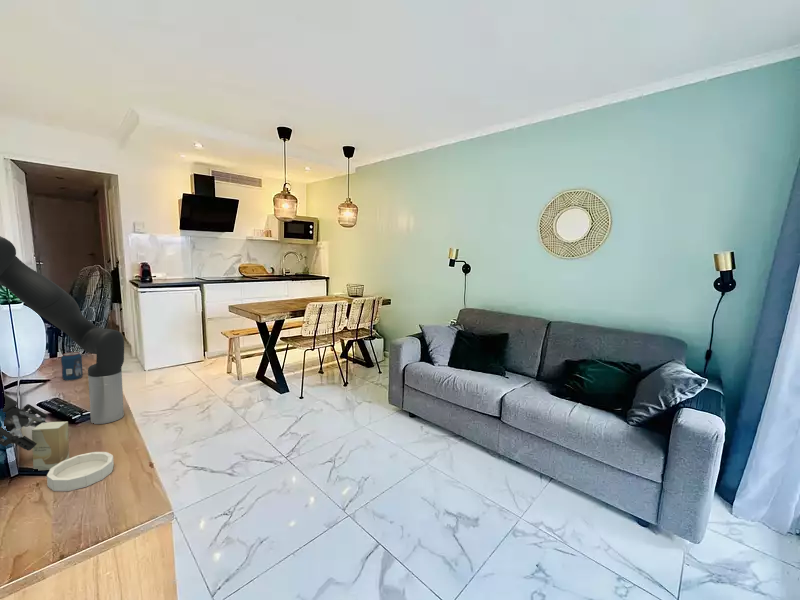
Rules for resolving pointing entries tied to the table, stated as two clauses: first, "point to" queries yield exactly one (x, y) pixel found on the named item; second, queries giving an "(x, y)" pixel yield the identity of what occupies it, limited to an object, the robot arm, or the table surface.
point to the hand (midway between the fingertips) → (43, 439)
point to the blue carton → (71, 366)
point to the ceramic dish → (80, 471)
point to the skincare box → (50, 444)
